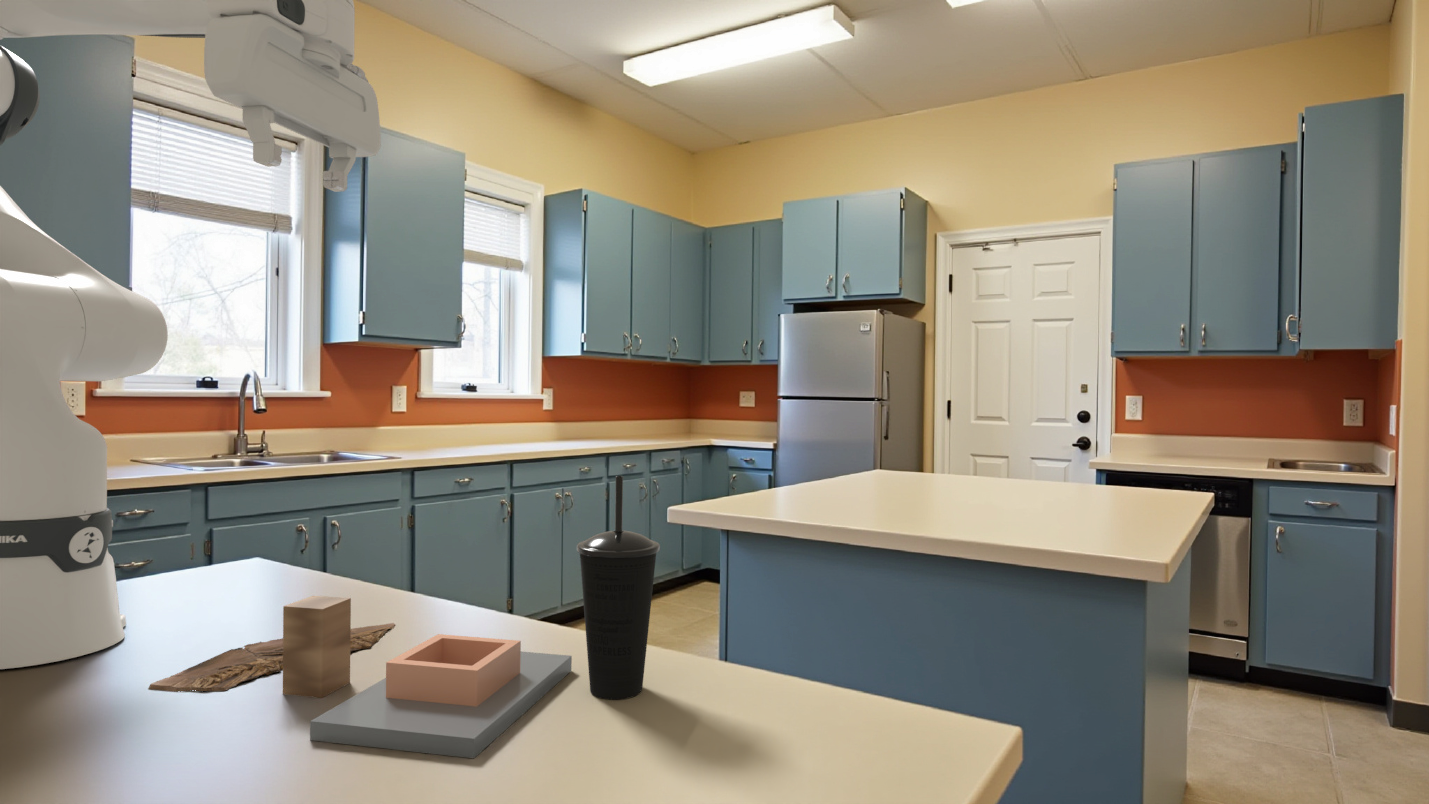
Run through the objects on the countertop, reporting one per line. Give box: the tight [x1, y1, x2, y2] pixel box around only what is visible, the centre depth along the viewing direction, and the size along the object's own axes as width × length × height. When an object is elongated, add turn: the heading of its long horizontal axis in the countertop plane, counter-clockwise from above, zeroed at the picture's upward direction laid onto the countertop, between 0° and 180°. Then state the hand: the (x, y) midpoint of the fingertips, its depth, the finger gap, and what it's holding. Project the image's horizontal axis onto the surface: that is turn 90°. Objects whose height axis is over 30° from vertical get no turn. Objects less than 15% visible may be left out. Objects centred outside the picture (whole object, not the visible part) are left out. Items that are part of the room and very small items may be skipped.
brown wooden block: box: [282, 595, 352, 699], centre depth 76 cm, size 4×4×8 cm
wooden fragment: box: [147, 622, 396, 693], centre depth 85 cm, size 26×11×1 cm, turn 145°
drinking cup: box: [576, 475, 661, 700], centre depth 76 cm, size 8×8×20 cm
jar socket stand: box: [309, 633, 573, 759], centre depth 73 cm, size 14×20×4 cm
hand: (303, 178), depth 79 cm, fingers open, 8 cm apart
